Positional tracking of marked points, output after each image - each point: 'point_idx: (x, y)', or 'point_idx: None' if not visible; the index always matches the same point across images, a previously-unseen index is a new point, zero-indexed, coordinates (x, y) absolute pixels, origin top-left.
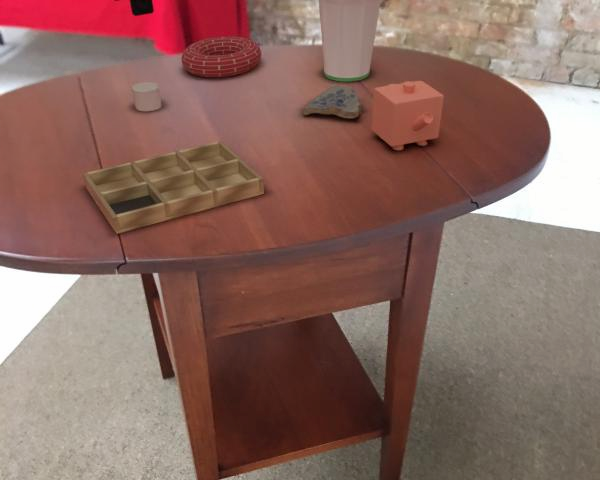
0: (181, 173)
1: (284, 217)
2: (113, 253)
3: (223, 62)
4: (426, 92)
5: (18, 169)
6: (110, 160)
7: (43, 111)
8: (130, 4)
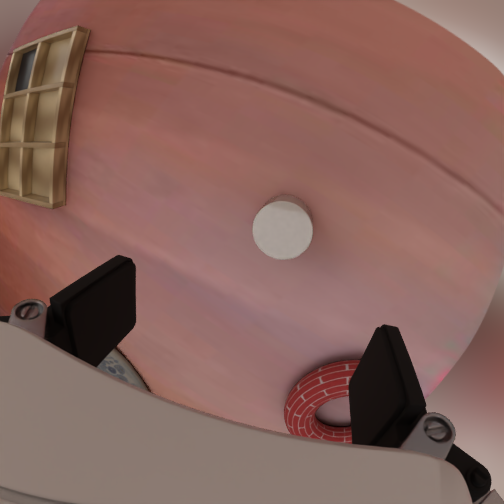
0: (23, 128)
1: None
2: (14, 46)
3: (296, 397)
4: None
5: None
6: (129, 68)
7: (409, 62)
8: (110, 269)
